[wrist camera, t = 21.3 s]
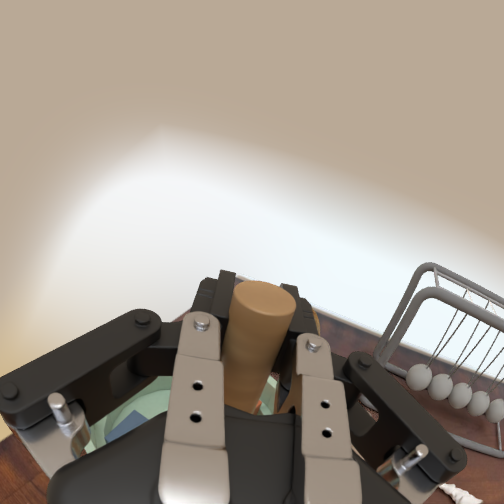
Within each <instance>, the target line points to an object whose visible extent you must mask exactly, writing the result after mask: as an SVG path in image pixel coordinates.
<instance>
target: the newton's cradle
mask: <svg viewBox="0 0 504 504" xmlns="http://www.w3.org/2000/svg"><path fill="white" fill-rule="evenodd" d="M427 271H432V272H434V275H435V283H436V287H427V288H424V289H422V290H421V291H419V292H418V293H416V295H415V296H414V298H413V299H412V301H411V303H410V305H409V307H408V309H407V311H406V312H405V314H404V316H403V318H402V320H401V322H400V323H399V325H398V327H397V329H396V331H395V332H394V334H393V336H392V337H391V339H390V341H389V343H388V344H387V346H386V348H385V349H384V351H383V353H382V354H381V356H380V353H381V351H382V349H383V348H384V346H385V344H386V343H387V341H388V339H389V338H390V336H391V334H392V332H393V331H394V329H395V327H396V325H397V323H398V322H399V320H400V318H401V316H402V314H403V312H404V310H405V309H406V307H407V305H408V303H409V301H410V299H411V297H412V295H413V293H414V291H415V289H416V287H417V284H418V282H419V280H420V278H421V276H422V275H423V273H425V272H427ZM438 275H439V276H441V277H443V278H445V279H447V280H449V281H451V282H453V283H455V284H457V285H459V286H461V287H463V288H465V289H466V292H467V291H468V290H469V291H471V292H473V293H475V294H477V295H479V296H481V297H482V298H484V299H486V300H488V303H489V302H490V303H491V302H492V303H494V304H496V305H498V306H499V307H501V308H503V309H504V299H503V298H502V297H500V296H498V295H496V294H494V293H493V292H491V291H489V290H487V289H485V288H483V287H481V286H479V285H478V284H476V283H474V282H472V281H470V280H468V279H466V278H464V277H462V276H460V275H458V274H456V273H454V272H452V271H450V270H448V269H446V268H444V267H442V266H440V265H438V264H435V263H432V262H429V263H424V264H422V265H420V266H419V267H418V268H417V269H416V271H415V272H414V275H413V277H412V279H411V281H410V283H409V285H408V288H407V290H406V291H405V293H404V296H403V298H402V300H401V302H400V304H399V306H398V308H397V310H396V311H395V313H394V315H393V317H392V319H391V321H390V323H389V324H388V326H387V328H386V330H385V332H384V333H383V335H382V337H381V339H380V340H379V342H378V344H377V346H376V347H375V349H374V352H373V358H374V359H375V360H376V361H377V362H378V363H379V364H380V365H381V366H382V367H383V368H384V369H386V370H388V371H390V372H392V373H394V374H396V375H399V376H401V377H403V378H405V379H406V383H407V385H408V387H409V388H410V389H412V390H415V391H420V390H423V389H425V388H427V389H428V393H429V395H430V397H431V398H432V399H434V400H443V399H445V398H446V397H447V398H448V401H449V404H450V405H451V406H452V407H453V408H456V409H460V408H463V407H465V406H467V410H468V412H469V414H471V415H472V416H479V415H482V414H483V413H485V414H486V419H487V420H488V421H489V422H490V423H497V428H498V440H499V450H497V449H494V448H491V447H488V446H485V445H482V444H479V443H476V442H474V441H471V440H468V439H465V438H462V437H460V436H457V435H454V434H452V433H449V432H448V433H449V434H450V435H451V436H452V437H453V438H454V439H455V440H456V441H457V442H458V443H459V444H460V445H461V446H463V447H466V448H469V449H472V450H475V451H478V452H481V453H485V454H488V455H491V456H494V457H498V458H504V451H501V437H500V426H499V421H501V420H502V419H503V418H504V400H502V399H496V400H494V401H492V402H491V403H490V398H489V396H488V395H489V394H490V393H491V392H492V391H493V390H494V389H495V388H496V387H497V386H498V385H499V384H500V383H501V382H502V381H503V380H504V378H503V379H502V380H501V381H500V382H499V383H498V384H497V385H496V386H495V387H494V388H493V389H492V390H491V391H490V392H489V393H487V392H488V390H489V389H490V387H491V386H492V384H493V383H494V381H495V380H496V378H497V377H498V375H499V373H500V372H501V370H502V368H503V367H504V365H503V367H502V368H501V370H500V372H499V373H498V375H497V376H496V378H495V380H494V381H493V383H492V384H491V386H490V387H489V389H488V390H487V392H484V391H478V392H475V393H474V394H472V389H471V387H470V386H471V385H472V384H473V383H474V382H475V381H476V380H477V379H478V378H479V377H480V376H481V375H482V374H483V372H484V371H485V370H486V369H487V368H488V367H489V366H490V365H491V363H492V362H493V361H494V360H495V359H496V358H497V356H498V355H499V354H500V353H501V352H502V350H503V349H504V347H503V349H502V350H501V351H500V353H499V354H498V355H497V356H496V357H495V358H494V360H493V361H492V362H491V363H490V364H489V366H488V367H487V368H486V369H485V370H484V371H483V372H482V373H481V374H480V375H479V376H478V378H477V379H476V380H475V381H474V382H473V383H472V384H471V385H469V383H470V382H471V380H472V379H473V377H474V376H475V374H476V373H477V371H478V369H479V368H480V366H481V364H482V363H483V361H484V360H485V358H486V356H487V355H488V353H489V351H490V349H491V348H490V349H489V351H488V353H487V354H486V356H485V358H484V360H483V361H482V363H481V364H480V366H479V368H478V369H477V371H476V372H475V374H474V376H473V377H472V379H471V380H470V382H469V383H468V384H466V383H459V384H457V385H455V386H454V387H453V382H452V379H451V378H450V377H451V376H452V375H453V374H454V373H455V371H456V370H457V369H458V368H459V367H460V366H461V365H462V363H463V362H464V361H465V360H466V359H467V357H468V356H469V355H470V354H471V352H472V351H473V350H474V349H475V347H476V346H477V345H478V344H479V342H480V341H481V340H482V338H483V337H484V336H485V334H486V333H487V332H488V330H489V329H490V327H491V326H492V327H494V328H495V329H497V330H499V332H498V334H499V333H500V331H501V332H503V333H504V319H503V318H501V317H499V316H497V315H495V314H493V313H491V312H489V311H488V310H486V308H487V306H488V303H487V305H486V307H485V309H484V308H482V307H480V306H478V305H476V304H474V303H473V302H470V301H468V300H466V299H464V296H465V294H466V292H465V294H464V296H463V298H462V297H460V296H458V295H456V294H454V293H452V292H450V291H448V290H446V289H444V288H442V287H440V286H439V281H438ZM469 291H468V293H469ZM469 295H470V294H469ZM428 298H435V299H438V300H440V301H442V302H444V303H446V304H448V305H450V306H452V307H454V308H456V309H457V311H458V310H460V311H462V312H465V313H466V315H465V317H466V316H467V314H468V315H470V316H472V317H474V318H476V319H478V320H479V322H480V321H482V322H484V323H486V324H488V325H490V327H489V328H488V330H487V331H486V333H485V334H484V335H483V337H482V338H481V339H480V340H479V342H478V343H477V344H476V346H475V347H474V348H473V349H472V351H471V352H470V353H469V355H468V356H467V357H466V358H465V359H464V361H463V362H462V363H461V364H460V365H459V366H458V368H457V369H456V370H455V371H454V372H453V373H452V374H451V375H450V376H449V374H450V373H451V371H452V370H453V368H454V367H455V365H456V363H457V362H458V360H459V359H460V357H461V355H462V353H463V351H464V350H465V348H466V347H467V345H468V343H469V341H470V339H471V338H472V336H473V334H474V332H475V330H476V328H477V326H478V324H479V322H478V324H477V326H476V328H475V330H474V332H473V334H472V336H471V337H470V339H469V341H468V343H467V345H466V346H465V348H464V350H463V351H462V353H461V355H460V357H459V358H458V360H457V361H456V363H455V365H454V366H453V368H452V370H451V371H450V373H449V374H448V375H446V374H439V375H436V376H435V377H433V378H432V372H431V370H430V368H429V366H430V365H431V363H432V362H433V361H434V360H435V358H436V357H437V356H438V355H439V353H440V352H441V351H442V349H443V348H444V347H445V345H446V344H447V343H448V341H449V340H450V339H451V337H452V336H453V335H454V333H455V332H456V330H457V329H458V327H459V326H460V325H461V323H462V322H463V320H464V319H465V317H464V318H463V320H462V321H461V322H460V324H459V325H458V327H457V328H456V330H455V331H454V333H453V334H452V335H451V337H450V338H449V340H448V341H447V342H446V344H445V345H444V346H443V348H442V349H441V350H440V351H439V353H438V354H437V355H436V357H435V358H434V359H433V360H432V362H431V363H430V364H429V362H430V360H431V359H432V357H433V355H434V354H435V352H436V350H437V349H438V347H439V345H440V343H441V342H442V340H443V338H444V336H445V334H446V333H447V331H448V328H449V327H450V325H451V323H452V321H453V319H454V317H455V315H456V313H457V311H456V313H455V315H454V317H453V319H452V321H451V323H450V325H449V327H448V328H447V330H446V332H445V334H444V336H443V338H442V340H441V341H440V343H439V345H438V347H437V348H436V350H435V352H434V353H433V355H432V357H431V358H430V360H429V362H428V363H427V365H428V364H429V365H428V366H427V365H424V364H417V365H415V366H413V367H412V368H410V370H409V371H408V372H407V371H405V370H403V369H401V368H399V367H397V366H395V365H392V364H390V363H388V360H389V359H390V357H391V356H392V354H393V352H394V351H395V349H396V348H397V346H398V344H399V343H400V341H401V339H402V338H403V336H404V334H405V333H406V331H407V329H408V327H409V325H410V324H411V322H412V320H413V318H414V317H415V315H416V313H417V311H418V309H419V307H420V306H421V304H422V302H423V301H424V300H426V299H428ZM470 298H471V297H470ZM471 301H472V299H471ZM491 306H492V305H491ZM492 308H493V306H492ZM493 310H494V309H493ZM494 312H495V310H494ZM498 334H497V336H498ZM497 336H496V338H497ZM495 340H496V339H495ZM495 340H494V342H495ZM494 342H493V344H494ZM493 344H492V346H493ZM492 346H491V347H492ZM359 399H360V401H361V402H362V404H364V405H365V406H367V407H369V408H371V409H373V410H375V411H377V409H376V408H375V407H374V406H373V405H372V404H371V403H370V402H369V401H368V399H367V398H366V397H365V396H364V395H363V394H362V396H361V397H360V398H359ZM377 412H378V411H377Z"/></svg>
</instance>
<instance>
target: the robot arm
mask: <svg viewBox="0 0 504 504" xmlns="http://www.w3.org/2000/svg"><path fill="white" fill-rule="evenodd" d="M235 275H236V273H234V272H230V271H225V270H220V274H219V278H218V280H217V279H213V278H209V277H207V278H205V279H204V280H202V281H201V282H200V285H199V288H198V291H197V294H196V296H195V299H194V302H193V305H192V308H191V311H190V313H188V314H187V315H185V317H184V318H183V320H182V321H179V322H171V323H169V322H162V321H161V318H160V317H159V316H158V315H157V314H156V313H155V312H153V311H150V310H147V309H135V310H131V311H129V312H127V313H125V314H123V315H121V316H119V317H117V318H115V319H113V320H111V321H110V322H108V323H106V324H104V325H102V326H100V327H98V328H96V329H94V330H92V331H90V332H88V333H86V334H84V335H82V336H80V337H78V338H76V339H74V340H72V341H71V342H68V343H66V344H65V345H63V346H61V347H59V348H57V349H55V350H53V351H51V352H49V353H47V354H45V355H43V356H41V357H39V358H37V359H35V360H33V361H31V362H29V363H27V364H25V365H23V366H21V367H20V368H18V369H16V370H14V371H12V372H10V373H8V374H6V375H4V376H2V377H0V414H1V415H2V418H3V420H4V421H5V423H6V424H7V426H8V427H9V428H10V430H11V431H12V432H13V434H14V435H15V436H16V438H17V439H18V440H19V441H20V442H21V443H22V444H23V445H24V446H25V448H26V449H27V450H28V451H29V452H30V453H31V455H32V456H33V458H34V459H35V460H36V462H37V463H38V464H39V466H40V467H41V468H42V470H43V471H44V472H45V473H46V475H47V476H48V477H49V478H50V481H49V484H48V488H47V504H423V503H424V502H425V501H426V499H427V498H428V497H429V496H430V495H431V494H432V493H433V492H434V491H435V490H436V489H437V488H438V487H440V486H441V485H442V484H444V483H445V482H447V481H448V480H450V479H451V478H452V477H454V476H455V475H456V474H458V473H459V472H460V471H462V470H463V469H464V468H465V467H466V464H467V455H466V452H465V450H464V449H463V448H462V446H461V445H460V444H459V443H458V442H457V441H456V440H455V439H454V438H453V437H452V436H451V435H450V434H449V433H448V432H447V431H446V430H445V429H444V428H443V427H442V426H441V425H440V424H439V423H438V422H437V421H436V420H435V419H434V418H433V417H432V416H431V415H430V414H429V413H428V412H427V411H426V410H425V409H424V408H423V407H422V406H421V405H420V404H419V403H418V402H417V401H416V400H415V399H414V398H413V397H412V396H411V395H410V394H409V393H408V392H407V391H406V390H405V389H404V388H403V387H402V386H401V385H400V384H399V383H398V382H397V381H396V380H395V379H394V378H393V377H392V376H391V375H390V374H389V373H388V372H387V371H386V370H385V369H384V368H383V367H382V366H381V365H380V364H379V363H378V362H377V361H376V360H375V359H374V358H373V357H372V356H371V355H369V354H367V353H364V352H359V351H357V352H353V353H351V354H350V355H349V357H348V359H347V358H345V357H342V356H339V355H336V354H334V353H332V352H331V351H330V346H329V344H328V342H327V341H326V340H325V339H323V338H322V337H320V336H319V334H318V330H317V326H316V322H315V319H314V314H313V311H312V307H311V305H310V304H309V302H308V301H307V300H306V299H305V298H300V297H299V293H298V288H297V286H293V285H288V284H283V283H281V285H280V288H282V289H284V290H286V291H287V292H288V293H290V294H291V295H292V297H293V298H294V299H295V302H296V309H295V312H294V315H293V317H292V320H291V323H290V325H289V328H288V330H287V333H286V336H285V338H284V341H283V343H282V346H281V348H280V351H279V353H278V356H277V358H276V361H275V363H274V366H273V368H272V372H277V373H280V377H279V379H278V382H277V384H276V391H275V402H274V412H273V414H271V415H253V414H250V413H248V412H245V411H242V410H239V409H237V408H234V407H232V406H229V405H226V404H224V372H223V361H222V360H220V353H221V348H222V344H223V340H224V336H225V332H226V328H227V324H228V320H229V308H230V304H231V300H232V295H233V288H234V282H235ZM158 376H173V377H172V383H171V390H170V397H169V404H168V410H167V411H164V412H162V413H160V414H158V415H156V416H154V417H153V418H151V419H149V420H148V421H146V422H144V423H143V424H141V425H139V426H138V427H136V428H134V429H132V430H131V431H129V432H127V433H125V434H124V435H122V436H120V437H118V438H116V439H114V440H113V441H111V442H109V443H107V444H105V445H103V446H101V447H100V448H98V449H96V450H94V451H92V452H90V453H88V454H86V455H84V456H82V457H80V454H81V451H82V450H83V449H84V448H85V447H86V446H87V445H88V443H89V442H90V439H91V430H90V427H91V426H92V425H94V424H95V423H97V422H98V421H100V420H101V419H103V418H104V417H105V416H107V415H108V414H110V413H111V412H112V411H114V410H115V409H117V408H118V407H119V406H121V405H122V404H124V403H125V402H126V401H128V400H129V399H130V398H132V397H133V396H135V395H136V394H137V393H139V392H140V391H141V390H143V389H144V388H145V387H147V386H148V385H149V384H151V383H152V382H154V381H155V380H156V379H157V377H158ZM362 394H363V395H364V396H365V397H366V398H367V399H368V401H369V402H370V403H371V404H372V405H373V406H374V407H375V408H376V409H377V411H378V413H379V419H378V421H377V422H376V421H375V420H374V419H373V418H372V417H371V416H370V414H369V413H368V412H367V411H366V410H365V409H364V408H363V406H362V405H361V404H360V403H359V402H358V400H359V398H360V397H361V396H362ZM351 444H352V445H353V446H354V448H355V449H356V450H357V451H358V452H359V454H360V455H361V456H362V457H363V458H364V460H365V461H366V462H365V461H364V460H363V459H362V458H361V457H360V456H359V455H358V454H357V453H356V452H355V451H354V450H353V449H352V448H351Z"/></svg>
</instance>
